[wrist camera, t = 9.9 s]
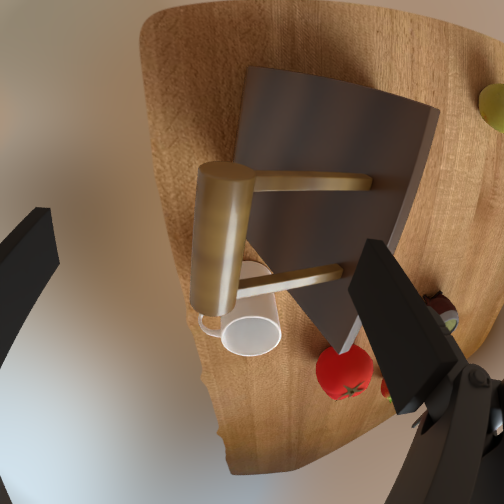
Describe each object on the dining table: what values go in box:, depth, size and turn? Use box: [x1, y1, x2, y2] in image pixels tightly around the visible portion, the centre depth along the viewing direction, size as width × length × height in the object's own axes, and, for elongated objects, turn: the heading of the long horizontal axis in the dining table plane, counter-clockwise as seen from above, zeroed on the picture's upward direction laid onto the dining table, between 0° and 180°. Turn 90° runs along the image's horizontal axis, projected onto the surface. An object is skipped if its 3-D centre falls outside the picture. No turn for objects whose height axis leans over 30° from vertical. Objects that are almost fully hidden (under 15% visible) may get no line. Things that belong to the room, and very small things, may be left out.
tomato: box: [316, 344, 374, 401], centre depth 59 cm, size 12×12×11 cm
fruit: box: [381, 378, 392, 403], centre depth 68 cm, size 5×5×8 cm
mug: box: [198, 261, 281, 356], centre depth 47 cm, size 12×8×12 cm
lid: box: [190, 66, 440, 355], centre depth 20 cm, size 19×15×10 cm
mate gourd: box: [423, 291, 459, 333], centre depth 52 cm, size 8×8×15 cm
